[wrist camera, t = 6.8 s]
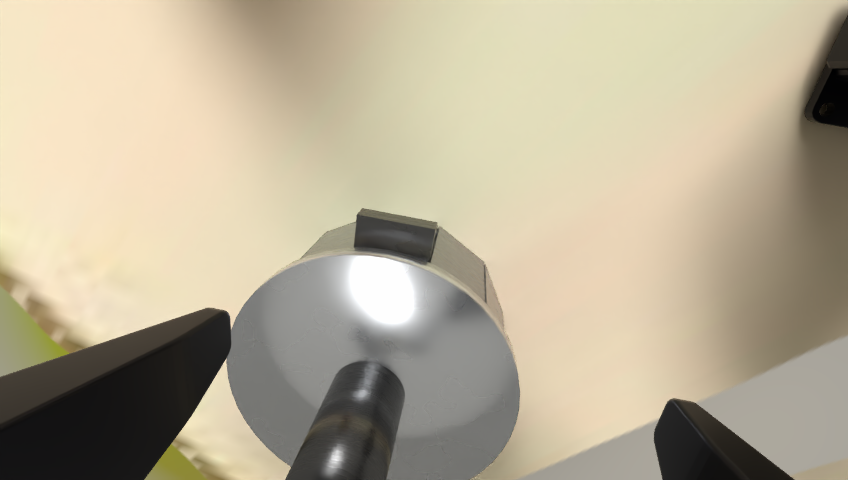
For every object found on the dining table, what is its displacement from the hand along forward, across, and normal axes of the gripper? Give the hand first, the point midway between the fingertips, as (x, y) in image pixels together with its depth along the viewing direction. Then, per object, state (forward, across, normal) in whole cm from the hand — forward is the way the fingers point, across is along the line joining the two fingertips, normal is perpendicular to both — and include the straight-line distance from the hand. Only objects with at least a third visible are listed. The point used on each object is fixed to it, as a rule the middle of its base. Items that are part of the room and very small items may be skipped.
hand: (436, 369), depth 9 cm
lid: (+7, +3, +7) cm, 10 cm away
